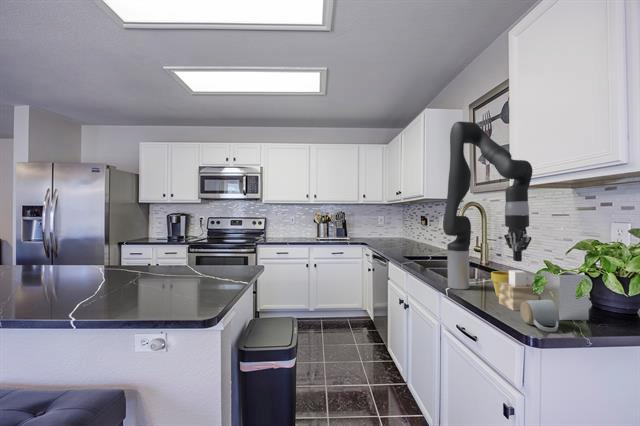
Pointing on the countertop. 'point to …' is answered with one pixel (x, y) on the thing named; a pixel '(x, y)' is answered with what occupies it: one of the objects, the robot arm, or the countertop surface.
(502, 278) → the plant pot
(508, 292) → the wooden box
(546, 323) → the ceramic mug
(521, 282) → the plug
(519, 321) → the countertop surface
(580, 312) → the tall grey box
